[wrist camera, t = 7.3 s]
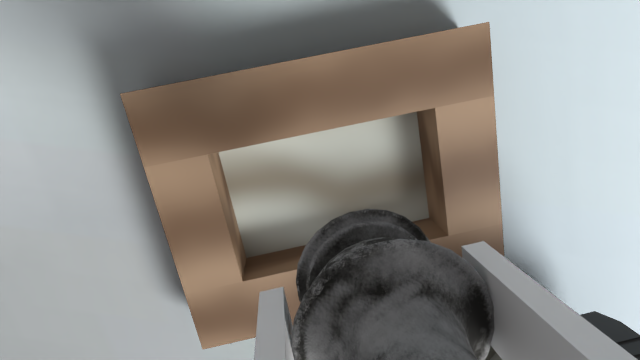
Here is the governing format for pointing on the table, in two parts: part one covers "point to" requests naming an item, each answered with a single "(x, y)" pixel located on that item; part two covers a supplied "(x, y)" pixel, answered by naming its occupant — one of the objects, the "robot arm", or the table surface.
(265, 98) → the block
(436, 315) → the stone chess piece
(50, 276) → the table surface
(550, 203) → the table surface
